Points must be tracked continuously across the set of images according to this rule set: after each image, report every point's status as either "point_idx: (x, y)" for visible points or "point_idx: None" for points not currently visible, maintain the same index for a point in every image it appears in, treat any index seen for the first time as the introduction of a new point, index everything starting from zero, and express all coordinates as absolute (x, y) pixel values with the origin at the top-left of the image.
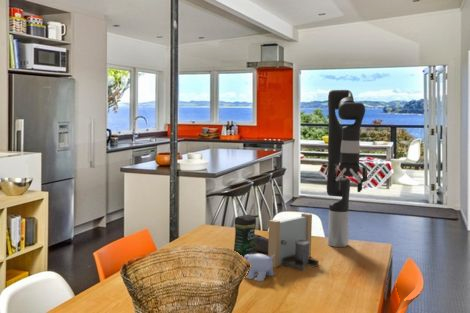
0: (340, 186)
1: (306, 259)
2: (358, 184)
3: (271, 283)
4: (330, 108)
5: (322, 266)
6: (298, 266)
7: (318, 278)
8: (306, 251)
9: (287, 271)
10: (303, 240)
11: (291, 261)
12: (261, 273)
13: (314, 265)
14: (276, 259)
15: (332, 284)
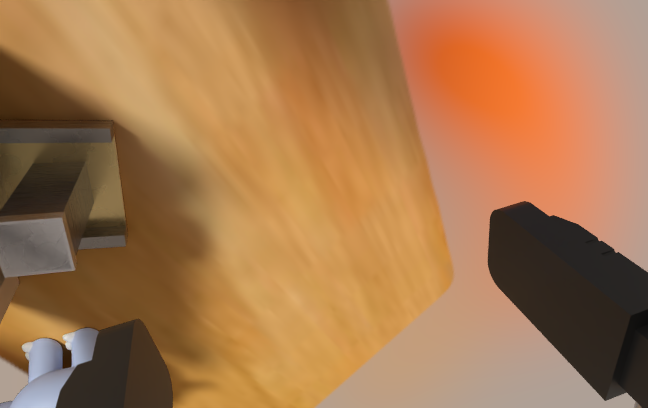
0: (131, 364)
1: (83, 190)
2: (598, 371)
3: None
4: None
5: (139, 120)
6: (108, 244)
7: (231, 242)
8: (75, 212)
9: (96, 276)
10: (18, 231)
11: (5, 201)
12: None
13: (112, 147)
14: (7, 299)
15: (299, 246)
